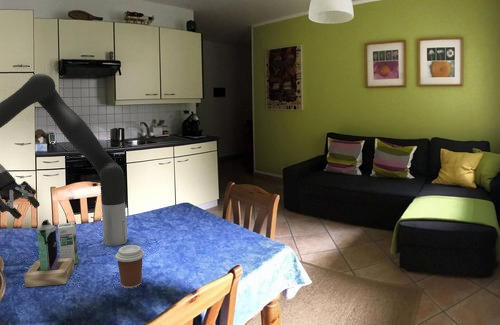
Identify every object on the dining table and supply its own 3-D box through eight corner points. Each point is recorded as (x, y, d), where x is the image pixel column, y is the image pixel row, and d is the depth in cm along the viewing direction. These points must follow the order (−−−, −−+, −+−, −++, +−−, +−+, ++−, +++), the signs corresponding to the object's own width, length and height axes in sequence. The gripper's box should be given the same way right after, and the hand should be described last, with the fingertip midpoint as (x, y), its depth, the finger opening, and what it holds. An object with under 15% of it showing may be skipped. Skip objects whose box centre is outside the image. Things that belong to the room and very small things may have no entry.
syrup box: (61, 266, 140) (58, 228, 138) (60, 260, 146) (57, 223, 143) (78, 263, 143) (75, 225, 141) (77, 258, 148) (74, 221, 146)
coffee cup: (118, 292, 122) (116, 256, 120) (115, 280, 130) (113, 246, 128) (148, 287, 125) (146, 251, 124) (143, 275, 134) (142, 242, 132)
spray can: (59, 278, 131) (55, 221, 128) (41, 282, 128) (36, 223, 125) (58, 272, 136) (54, 216, 133) (41, 275, 133) (36, 219, 130)
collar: (74, 268, 139) (73, 257, 138) (65, 283, 127) (64, 272, 127) (37, 271, 137) (36, 260, 136) (25, 287, 125) (24, 275, 124)
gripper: (-16, 178, 128) (19, 215, 130) (18, 164, 141) (49, 198, 143) (-27, 190, 131) (7, 226, 133) (7, 175, 144) (38, 208, 146)
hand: (29, 211), depth 138 cm, fingers open, 8 cm apart
